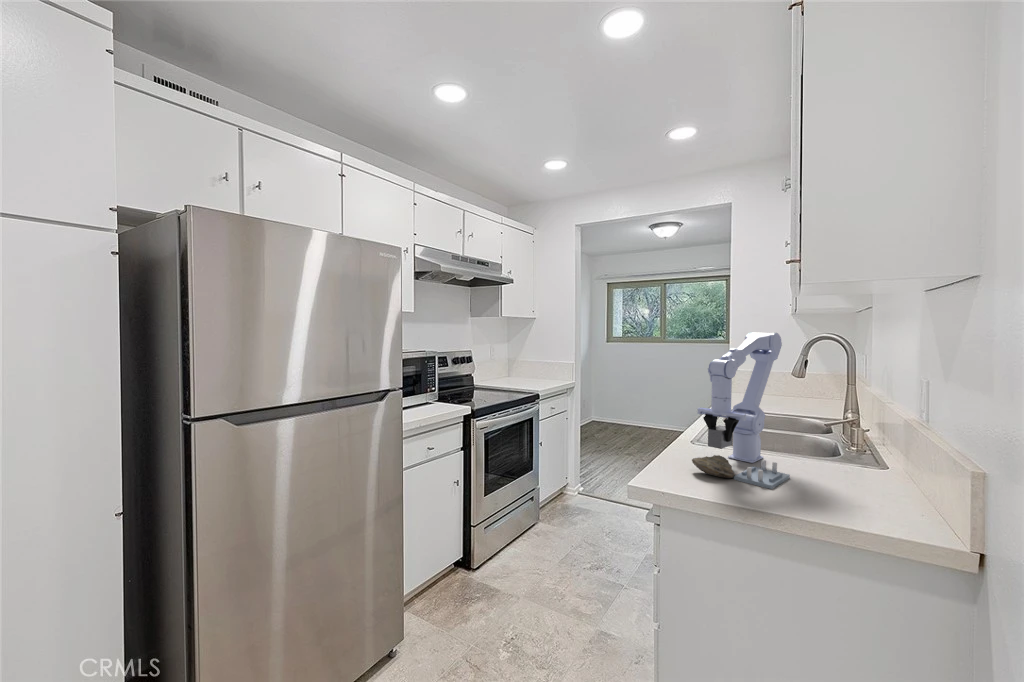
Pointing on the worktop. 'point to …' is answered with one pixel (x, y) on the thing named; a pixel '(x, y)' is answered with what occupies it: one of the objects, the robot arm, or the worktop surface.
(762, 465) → the grey pegged plate
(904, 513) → the worktop surface
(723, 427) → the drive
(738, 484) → the worktop surface
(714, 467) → the fossilized seashell
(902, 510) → the worktop surface
